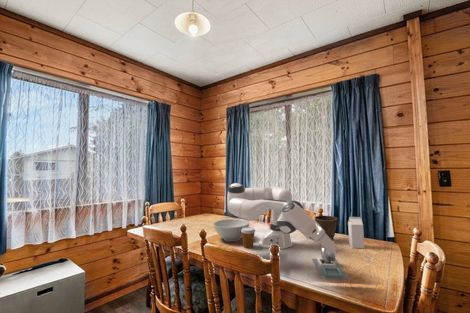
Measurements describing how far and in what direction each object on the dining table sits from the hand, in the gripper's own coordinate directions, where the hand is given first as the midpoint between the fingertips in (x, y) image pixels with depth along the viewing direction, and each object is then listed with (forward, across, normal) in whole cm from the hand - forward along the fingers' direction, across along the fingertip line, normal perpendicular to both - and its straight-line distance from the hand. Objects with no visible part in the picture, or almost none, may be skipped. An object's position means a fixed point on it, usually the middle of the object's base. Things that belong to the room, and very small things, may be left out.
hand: (331, 249), depth 111 cm
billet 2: (+3, 0, -4) cm, 5 cm away
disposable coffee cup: (-15, -47, -34) cm, 60 cm away
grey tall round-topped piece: (+10, -11, -6) cm, 16 cm away
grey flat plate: (+10, -6, -8) cm, 14 cm away
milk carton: (+34, -37, +15) cm, 53 cm away
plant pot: (+24, -51, +6) cm, 57 cm away
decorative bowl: (-22, -65, -41) cm, 80 cm away
